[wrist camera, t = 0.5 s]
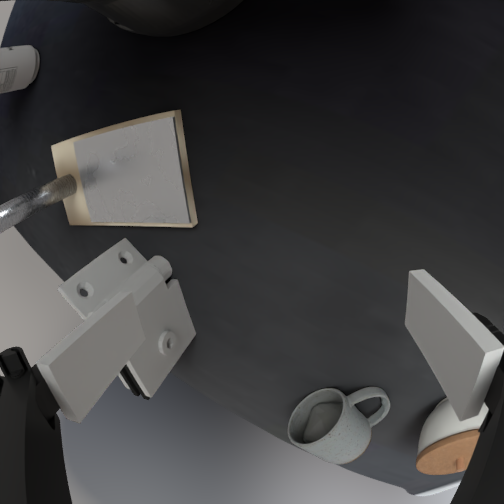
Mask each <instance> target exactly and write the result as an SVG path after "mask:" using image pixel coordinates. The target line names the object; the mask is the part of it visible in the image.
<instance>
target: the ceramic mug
mask: <svg viewBox="0 0 504 504" xmlns="http://www.w3.org/2000/svg"><path fill="white" fill-rule="evenodd" d="M372 397H381V403H382V406H381V408H380V409H379V410H378V411H377V412H376V413H374V414H373V415H372V416H370V417H369V418H366V417H365V416H364V415H363V414H362V413H361V412H360V411H359V410H358V409H357V408H356V407H355V406H354V404H356V403H358V402H361V401H363V400H365V399H368V398H372ZM389 409H390V401H389V398H388V396H387V395H386V393H385V391H384V390H382V389H381V388H379V387H367V388H363V389H360V390H358V391H356V392H354V393H352V394H350V395H348V396H345V395H344V394H343V393H342V392H341V391H340V390H338V389H335V388H324V389H320V390H317V391H315V392H313V393H311V394H310V395H308V396H307V397H306V398H305V399H303V400H302V401H301V402H300V403H299V404H298V406H297V407H296V408H295V410H294V411H293V413H292V415H291V417H290V420H289V423H288V430H287V431H288V436H289V438H290V440H291V442H292V443H293V444H294V445H296V446H298V447H300V448H301V449H303V450H305V451H307V452H309V453H311V454H313V455H315V456H317V457H318V458H320V459H322V460H324V461H326V462H329V463H333V464H345V463H349V462H351V461H354V460H355V459H357V458H358V457H359V456H361V455H362V454H363V453H364V451H365V450H366V449H367V447H368V445H369V443H370V441H371V436H372V431H371V427H372V426H374V425H375V424H377V423H378V422H380V421H381V420H382V419H383V418H384V417H385V416H386V415H387V413H388V411H389Z"/></svg>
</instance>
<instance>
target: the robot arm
mask: <svg viewBox="0 0 504 504" xmlns="http://www.w3.org/2000/svg"><path fill="white" fill-rule="evenodd" d="M0 1H8V0H0ZM50 1H65V2H75V3H83V4H84V5H86V6H88V7H90V8H91V9H93V10H95V11H97V12H99V13H101V14H102V15H104V16H106V17H107V18H108V19H109V20H110V21H111V22H112V23H113V24H115V25H116V26H118V27H119V28H121V29H124V30H126V31H129V32H132V33H137V34H143V35H148V36H154V37H170V36H177V35H182V34H186V33H189V32H192V31H195V30H198V29H200V28H203V27H205V26H207V25H209V24H211V23H213V22H215V21H216V20H218V19H220V18H221V17H223V16H225V15H226V14H227V13H229V12H230V11H232V10H233V9H234V8H235V7H237V6H238V5H239V4H240V3H241V2H242V1H243V0H50ZM405 326H406V328H407V329H408V331H409V332H410V334H411V336H412V337H413V339H414V341H415V342H416V344H417V345H418V347H419V349H420V350H421V352H422V354H423V355H424V357H425V359H426V361H427V362H428V364H429V366H430V367H431V369H432V371H433V373H434V374H435V376H436V378H437V380H438V382H439V383H440V385H441V387H442V389H443V391H444V392H445V394H446V396H447V398H448V400H449V402H450V404H451V405H452V407H453V409H454V411H455V413H456V415H457V417H458V419H459V421H464V420H466V419H469V418H472V417H475V416H478V415H479V412H480V410H481V408H482V406H483V404H484V403H485V404H486V406H487V407H488V409H489V410H488V412H487V414H486V416H485V418H484V420H483V422H482V424H481V426H480V428H479V430H478V432H480V435H479V438H478V441H477V444H476V446H475V449H474V452H473V454H472V457H471V459H470V462H469V464H468V467H467V469H466V472H465V474H464V476H463V478H462V481H461V483H460V485H459V487H458V489H457V491H456V493H455V495H454V497H453V499H452V501H451V503H450V504H504V335H503V334H502V333H501V332H500V331H499V330H498V329H497V328H496V327H495V326H493V324H492V323H491V322H490V321H489V320H488V319H487V318H486V317H484V316H482V315H480V314H478V313H471V312H470V311H469V310H468V309H467V308H466V307H465V306H464V305H463V304H462V303H460V302H459V301H458V300H457V299H456V298H455V297H454V296H453V295H452V294H451V293H450V292H449V291H448V290H446V289H445V288H444V287H443V286H442V285H441V284H440V283H439V282H438V281H436V280H435V279H434V278H433V277H432V276H431V275H430V274H428V273H427V272H426V271H425V270H424V269H422V270H413V271H409V280H408V295H407V307H406V317H405ZM144 341H145V335H144V332H143V329H142V326H141V322H140V319H139V315H138V312H137V308H136V305H135V301H134V297H133V294H132V292H119V293H118V294H116V295H115V296H114V297H113V298H111V299H110V300H109V301H108V302H107V303H105V304H104V305H103V306H102V307H100V308H99V309H98V310H97V311H95V312H94V313H93V314H92V315H91V316H89V317H88V318H87V319H86V320H85V321H83V322H82V323H81V324H80V325H79V326H77V327H76V328H75V329H74V330H73V331H72V332H70V333H69V334H68V335H67V336H66V337H64V338H63V339H62V340H61V341H60V342H59V343H58V344H56V345H55V346H54V347H53V348H52V349H50V350H49V351H48V352H47V353H46V354H45V355H44V356H42V357H41V358H40V359H39V360H38V361H37V362H36V364H35V365H34V366H33V367H32V368H31V367H30V365H29V363H28V360H27V358H26V356H25V354H24V352H23V350H22V348H20V347H12V348H9V349H6V350H5V351H3V352H1V353H0V367H1V370H2V372H3V374H4V375H5V377H3V376H0V504H72V501H71V496H70V491H69V486H68V481H67V475H66V470H65V463H64V456H63V448H62V439H61V429H60V420H59V417H58V415H57V414H56V412H57V411H58V410H59V409H61V411H62V412H63V414H64V415H65V417H66V419H68V420H71V421H74V422H77V423H81V421H82V420H83V419H84V418H85V416H86V415H87V414H88V412H89V411H90V410H91V409H92V407H93V406H94V405H95V403H96V402H97V401H98V399H99V398H100V397H101V395H102V394H103V393H104V391H105V390H106V389H107V387H108V386H109V385H110V384H111V382H112V381H113V380H114V378H115V377H116V376H117V375H118V373H119V372H120V371H121V370H122V368H123V367H124V366H125V365H126V363H127V362H128V361H129V359H130V358H131V357H132V356H133V354H134V353H135V352H136V351H137V349H138V348H139V347H140V346H141V344H142V343H143V342H144Z"/></svg>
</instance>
